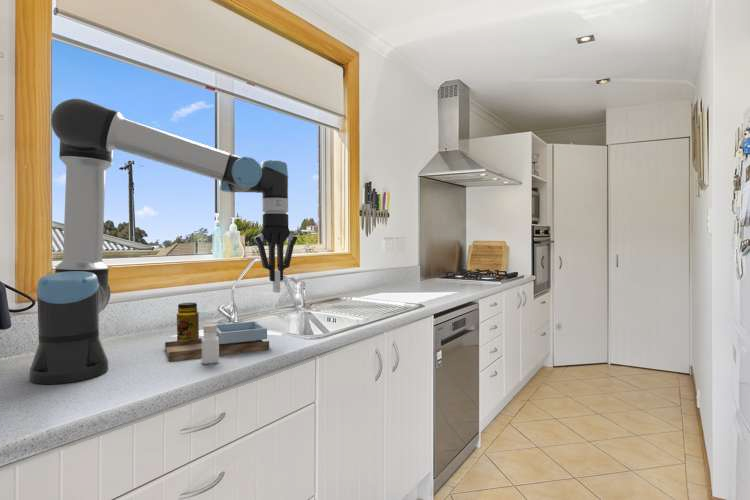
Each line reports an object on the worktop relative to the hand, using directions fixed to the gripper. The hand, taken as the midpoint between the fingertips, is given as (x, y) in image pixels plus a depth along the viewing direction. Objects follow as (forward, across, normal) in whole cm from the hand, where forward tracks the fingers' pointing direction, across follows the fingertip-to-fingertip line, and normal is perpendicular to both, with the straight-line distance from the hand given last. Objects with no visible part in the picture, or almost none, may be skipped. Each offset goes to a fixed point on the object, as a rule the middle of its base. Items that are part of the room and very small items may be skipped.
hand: (276, 291), depth 137 cm
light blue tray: (+14, -11, 0) cm, 18 cm away
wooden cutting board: (+15, -17, 0) cm, 23 cm away
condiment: (+15, -23, +13) cm, 31 cm away
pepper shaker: (+15, -21, -13) cm, 29 cm away
